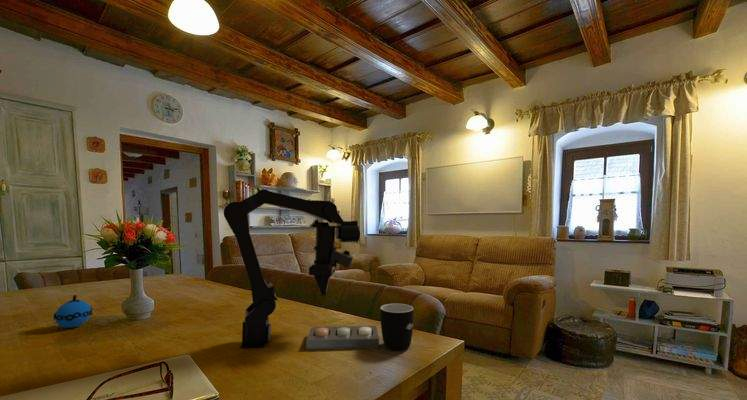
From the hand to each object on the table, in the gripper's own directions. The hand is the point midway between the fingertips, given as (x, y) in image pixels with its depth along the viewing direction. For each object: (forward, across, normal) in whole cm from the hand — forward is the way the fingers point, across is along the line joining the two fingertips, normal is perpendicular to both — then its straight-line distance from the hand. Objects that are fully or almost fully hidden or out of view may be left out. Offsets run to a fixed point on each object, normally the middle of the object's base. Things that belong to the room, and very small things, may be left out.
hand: (323, 295), depth 92 cm
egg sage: (+11, -6, -6) cm, 14 cm away
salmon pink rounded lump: (+11, -6, 0) cm, 12 cm away
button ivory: (+11, -5, -12) cm, 17 cm away
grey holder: (+11, -6, -6) cm, 14 cm away
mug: (+11, -8, -22) cm, 26 cm away
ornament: (+13, +8, +80) cm, 81 cm away
